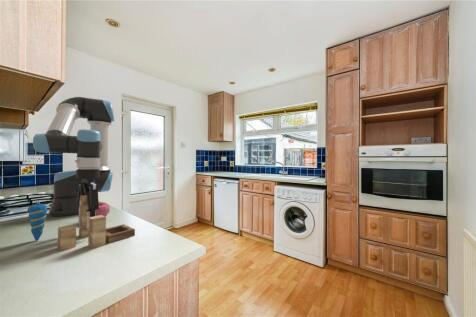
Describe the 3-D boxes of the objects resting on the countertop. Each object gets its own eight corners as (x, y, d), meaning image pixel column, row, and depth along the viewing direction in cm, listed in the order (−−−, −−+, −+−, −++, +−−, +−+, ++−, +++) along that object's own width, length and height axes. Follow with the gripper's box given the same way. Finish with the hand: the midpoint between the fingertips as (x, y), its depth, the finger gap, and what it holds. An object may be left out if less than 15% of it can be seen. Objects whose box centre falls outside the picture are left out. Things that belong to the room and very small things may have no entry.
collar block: (98, 236, 79) (98, 230, 79) (123, 230, 86) (123, 224, 86) (108, 243, 73) (109, 236, 73) (134, 235, 81) (134, 229, 81)
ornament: (24, 244, 70) (25, 202, 70) (29, 239, 75) (30, 199, 75) (44, 241, 73) (45, 201, 73) (48, 236, 78) (49, 198, 78)
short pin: (57, 247, 69) (58, 227, 69) (72, 243, 72) (72, 224, 72) (60, 250, 67) (61, 230, 67) (75, 246, 70) (76, 226, 70)
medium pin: (88, 245, 71) (88, 217, 71) (100, 241, 74) (101, 215, 74) (92, 248, 69) (93, 219, 69) (105, 244, 72) (106, 217, 72)
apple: (110, 221, 98) (111, 200, 98) (89, 225, 92) (89, 203, 92) (106, 216, 104) (106, 197, 104) (85, 220, 98) (86, 200, 98)
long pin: (78, 235, 80) (79, 195, 79) (90, 232, 83) (91, 194, 83) (82, 238, 77) (83, 197, 77) (94, 234, 80) (95, 195, 80)
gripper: (68, 167, 83) (66, 221, 83) (86, 170, 71) (85, 233, 71) (89, 167, 89) (88, 217, 89) (110, 169, 77) (108, 227, 77)
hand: (87, 224), depth 80 cm, fingers open, 8 cm apart
